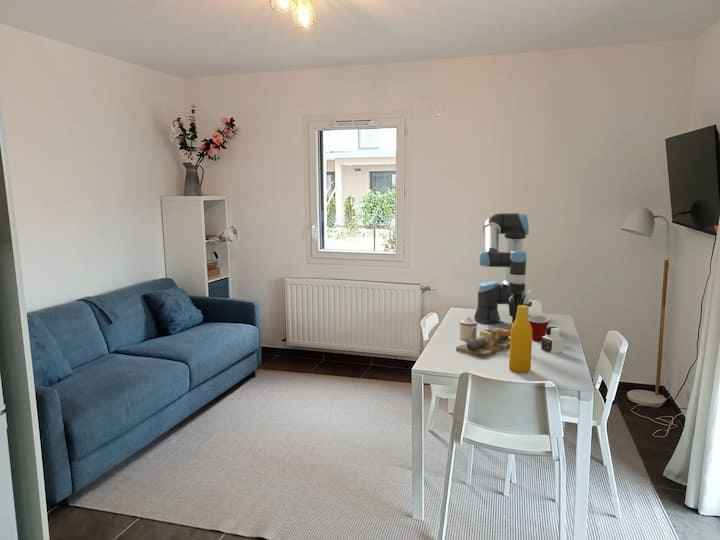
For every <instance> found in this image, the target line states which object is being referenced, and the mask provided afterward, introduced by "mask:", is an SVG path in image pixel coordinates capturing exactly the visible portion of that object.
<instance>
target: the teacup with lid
mask: <svg viewBox="0 0 720 540" xmlns="http://www.w3.org/2000/svg"><path fill="white" fill-rule="evenodd" d="M477 325H478V322H476V321H474V319H472V318H471V316H466V318H464V319H461V320H460V321H459V339H460V340H463V341H467V340H468V341H469V340H475V339H477V332H478V331H477ZM468 341H467V342H468Z"/></svg>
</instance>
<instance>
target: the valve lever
mask: <svg viewBox="0 0 720 540" xmlns="http://www.w3.org/2000/svg"><path fill="white" fill-rule="evenodd" d="M485 329H486V330H488V331H493V332H497V334H501V335H505V336H509V337H508V338H510V337H511V330H509V329H507V330H505V329H506V328H494V327H490V326H488V327H486V328H485Z"/></svg>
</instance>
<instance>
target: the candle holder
mask: <svg viewBox="0 0 720 540" xmlns="http://www.w3.org/2000/svg"><path fill="white" fill-rule="evenodd" d="M530 295H531V291H530V289H528V291H525V299H524V303H523V305H526V306H528V316H529V314H530V311H529V310H530V307H532V306H533V301H530V297H531V296H530Z"/></svg>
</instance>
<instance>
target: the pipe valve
mask: <svg viewBox="0 0 720 540" xmlns="http://www.w3.org/2000/svg"><path fill="white" fill-rule="evenodd" d="M486 329H487V328H485V329H483V330H479V337H478V338H476V339H475V340H469V341H467V342H466V343H464V344H460V345H457V346H456V350H455V351H456V352H459V351H460V353H464V354H466V353H467V355H469V356H473V357H474V356H475V357H478V358H481V359H485V358H488V357H491V356H494V355H496V354H498V353H501V352H504V351H506V350H508V349H509V350H510V337H509V336H505V335H501V334H497V332H493V331H488V330H486ZM504 329H505V330H508V329H507V328H504Z"/></svg>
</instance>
